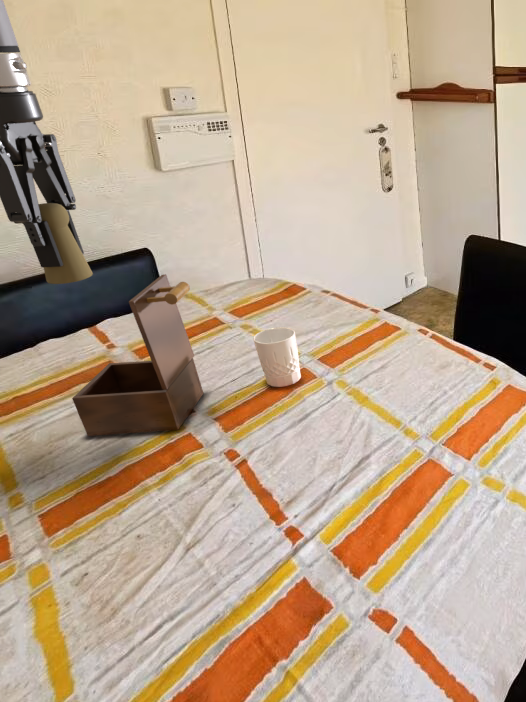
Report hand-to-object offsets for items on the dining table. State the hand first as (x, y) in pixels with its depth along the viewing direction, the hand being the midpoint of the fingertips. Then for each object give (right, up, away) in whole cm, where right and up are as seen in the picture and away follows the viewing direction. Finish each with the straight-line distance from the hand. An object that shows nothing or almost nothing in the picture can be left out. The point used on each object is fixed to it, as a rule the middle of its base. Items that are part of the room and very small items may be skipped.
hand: (63, 259), depth 94 cm
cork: (0, -3, +1) cm, 3 cm away
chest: (-1, -24, +23) cm, 34 cm away
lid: (+6, -9, +16) cm, 20 cm away
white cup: (+21, -18, +34) cm, 44 cm away
